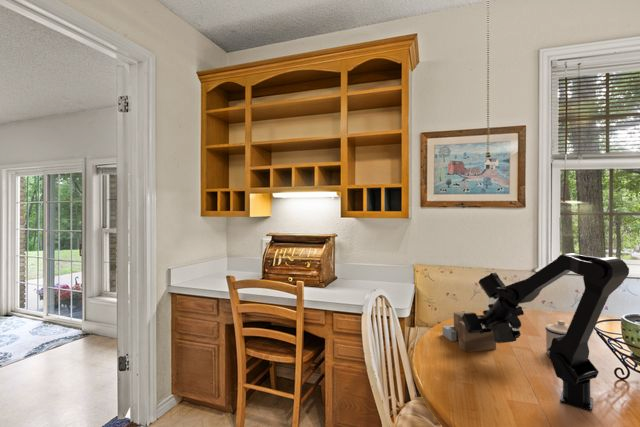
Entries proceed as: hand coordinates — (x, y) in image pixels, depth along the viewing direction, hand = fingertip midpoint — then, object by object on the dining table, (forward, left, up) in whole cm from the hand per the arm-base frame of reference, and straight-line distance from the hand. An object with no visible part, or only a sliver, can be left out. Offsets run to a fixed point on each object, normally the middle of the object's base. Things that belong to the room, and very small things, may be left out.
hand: (480, 332), depth 120 cm
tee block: (+5, +6, -7) cm, 10 cm away
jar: (+32, +1, -7) cm, 33 cm away
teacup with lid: (+14, -22, -7) cm, 27 cm away
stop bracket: (+9, +10, -7) cm, 15 cm away
